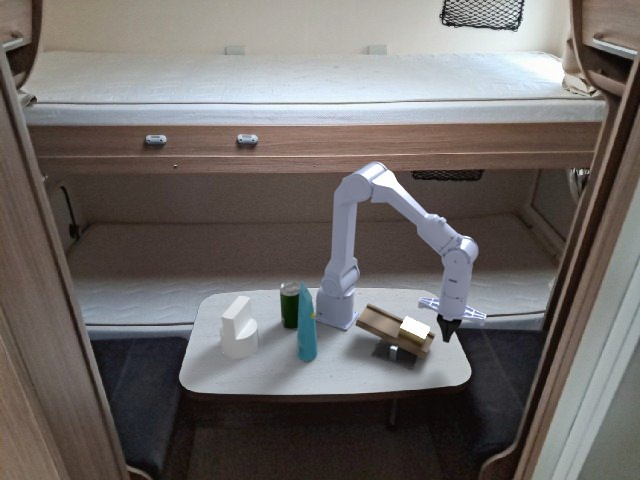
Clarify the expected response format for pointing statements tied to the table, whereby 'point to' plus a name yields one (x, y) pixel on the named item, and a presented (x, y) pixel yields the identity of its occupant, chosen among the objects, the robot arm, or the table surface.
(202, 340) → the table surface
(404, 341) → the beam
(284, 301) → the beer can
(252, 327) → the base with upright slab
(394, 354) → the beam stand
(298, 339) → the tube
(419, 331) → the rider
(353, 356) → the table surface
